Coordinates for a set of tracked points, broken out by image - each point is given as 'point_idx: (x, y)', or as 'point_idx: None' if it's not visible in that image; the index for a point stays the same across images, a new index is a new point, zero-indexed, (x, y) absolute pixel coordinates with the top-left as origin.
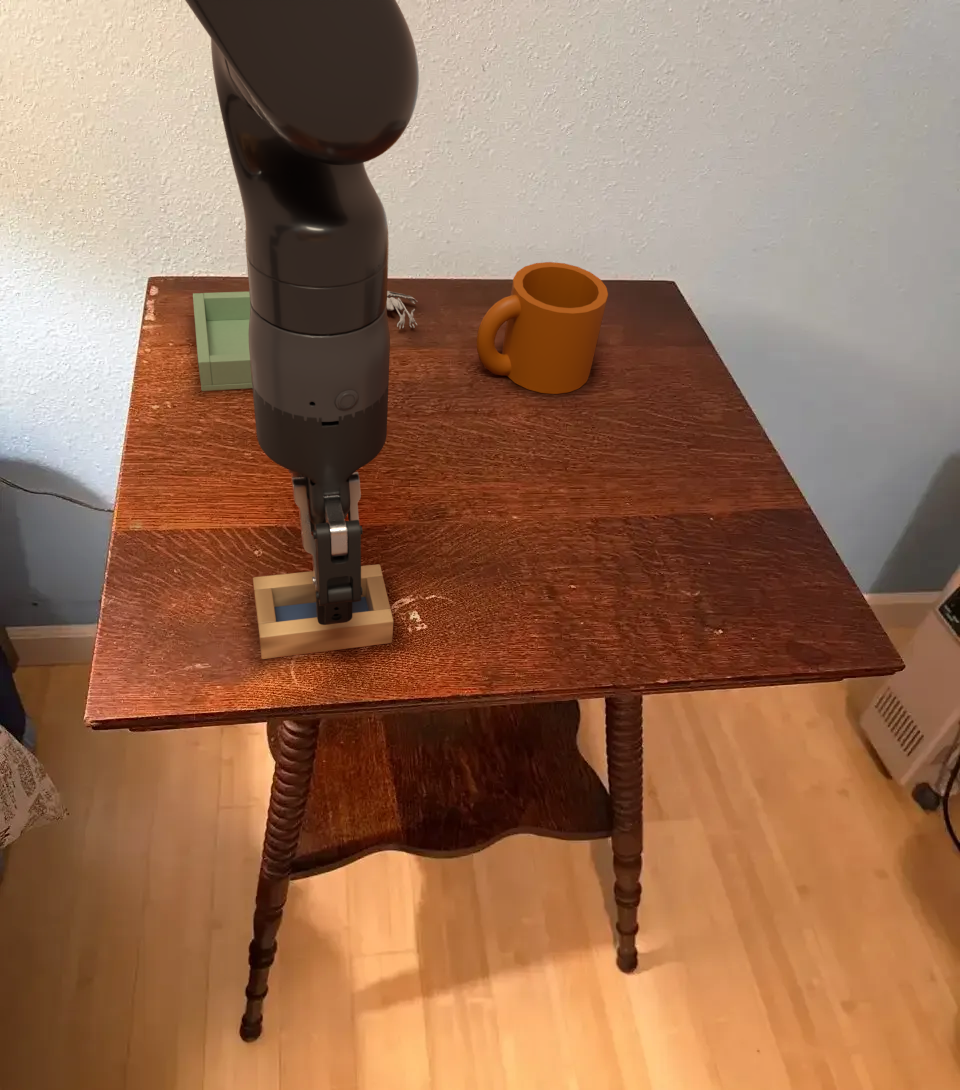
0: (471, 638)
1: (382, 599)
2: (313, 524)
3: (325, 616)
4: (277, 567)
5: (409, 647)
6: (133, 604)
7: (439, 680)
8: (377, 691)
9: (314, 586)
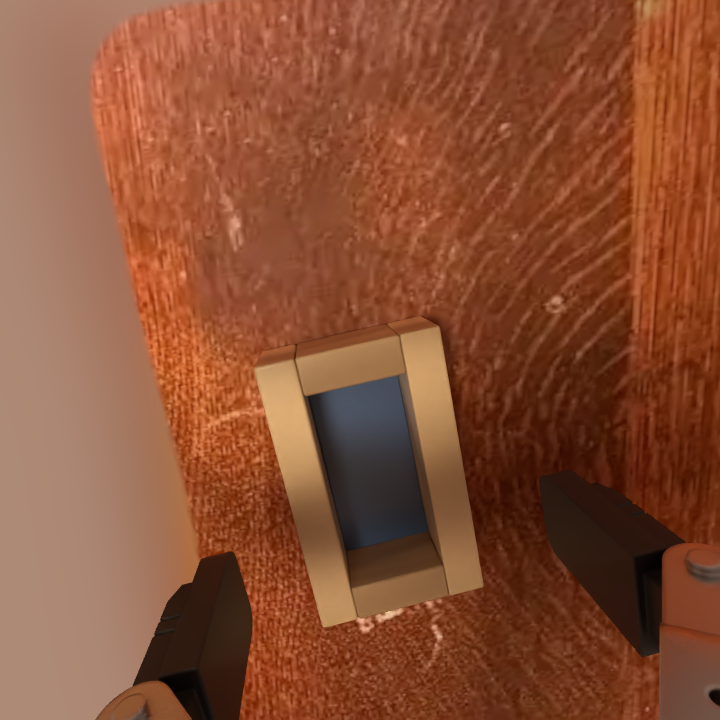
0: (341, 701)
1: (381, 602)
2: (554, 510)
3: (161, 619)
4: (512, 349)
5: (313, 608)
6: (400, 41)
7: None
8: None
9: (421, 459)
